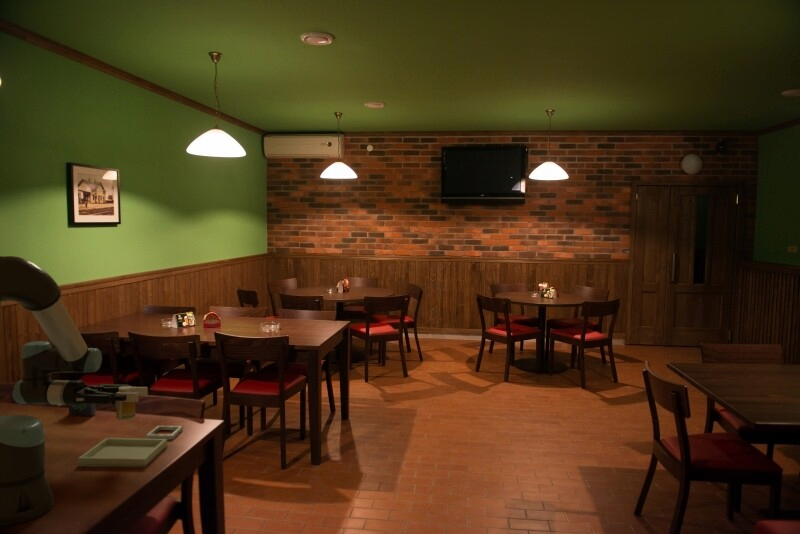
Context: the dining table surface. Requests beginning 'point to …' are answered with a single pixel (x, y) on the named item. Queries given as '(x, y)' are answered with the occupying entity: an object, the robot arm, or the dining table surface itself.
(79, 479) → the dining table surface
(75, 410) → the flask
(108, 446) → the tray
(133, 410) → the supplement bottle
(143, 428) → the dining table surface
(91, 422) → the dining table surface
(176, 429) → the holder ring
